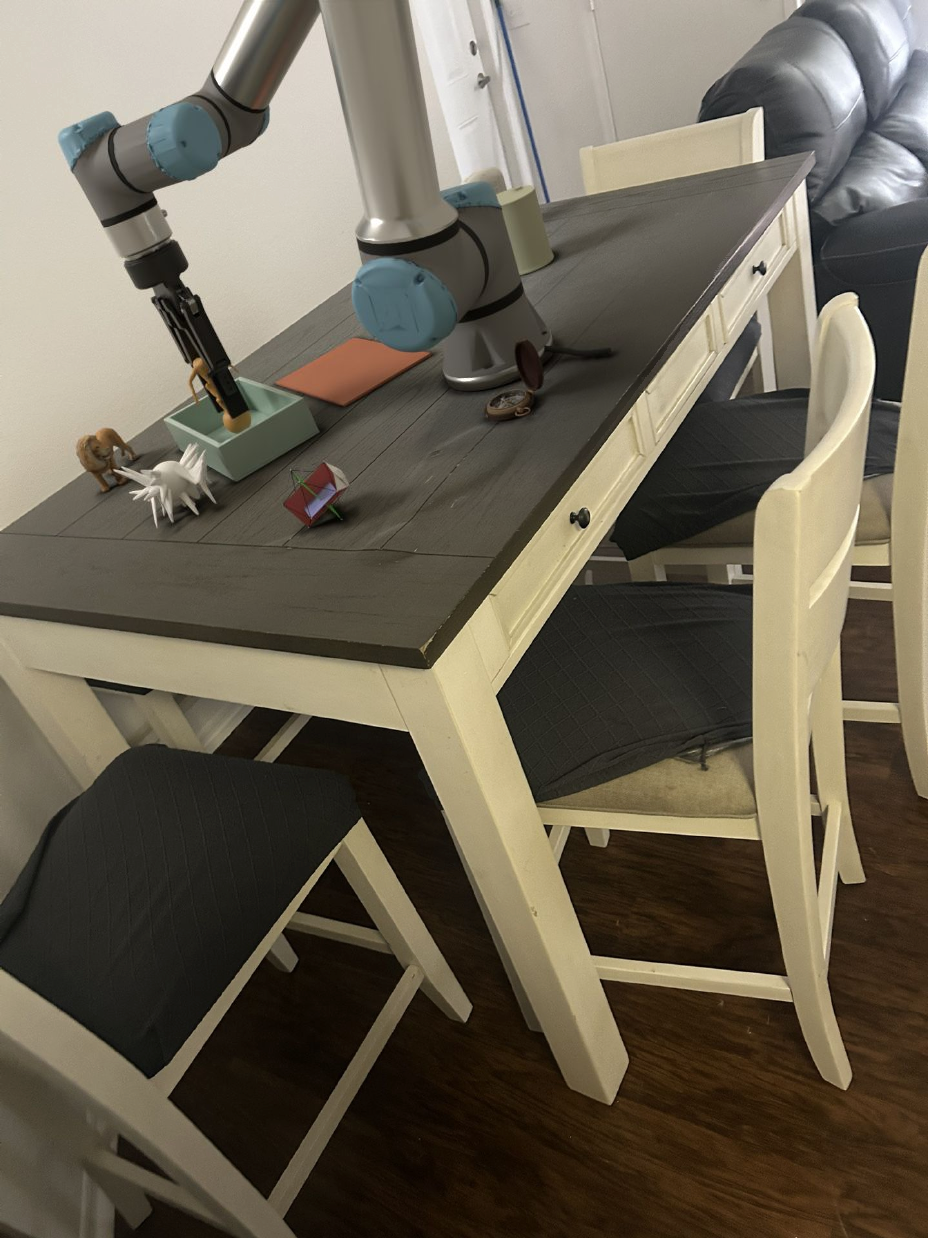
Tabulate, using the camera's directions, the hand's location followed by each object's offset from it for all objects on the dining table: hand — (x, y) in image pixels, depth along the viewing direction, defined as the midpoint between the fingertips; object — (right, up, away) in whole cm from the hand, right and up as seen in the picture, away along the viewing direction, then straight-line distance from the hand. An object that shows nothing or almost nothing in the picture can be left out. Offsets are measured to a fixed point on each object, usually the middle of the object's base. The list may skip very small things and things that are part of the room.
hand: (233, 410), depth 131 cm
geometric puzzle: (+17, -18, -25) cm, 36 cm away
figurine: (0, -2, +4) cm, 4 cm away
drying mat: (+15, +9, +13) cm, 22 cm away
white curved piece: (+39, +43, +46) cm, 74 cm away
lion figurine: (-19, -8, +8) cm, 22 cm away
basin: (+1, -4, +3) cm, 5 cm away
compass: (+40, -4, -19) cm, 44 cm away
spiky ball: (-3, -16, -10) cm, 19 cm away
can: (+44, +30, +26) cm, 59 cm away
